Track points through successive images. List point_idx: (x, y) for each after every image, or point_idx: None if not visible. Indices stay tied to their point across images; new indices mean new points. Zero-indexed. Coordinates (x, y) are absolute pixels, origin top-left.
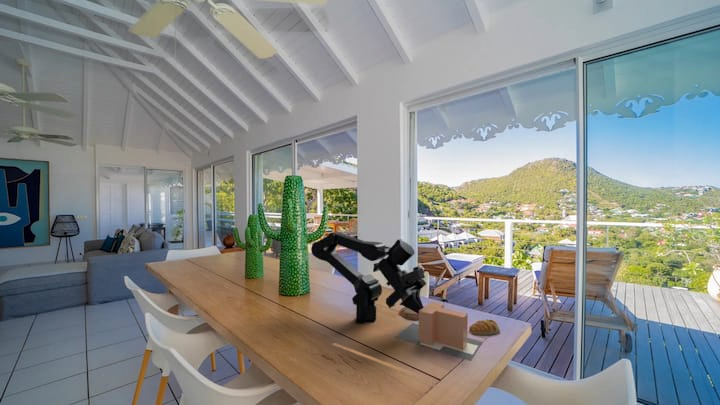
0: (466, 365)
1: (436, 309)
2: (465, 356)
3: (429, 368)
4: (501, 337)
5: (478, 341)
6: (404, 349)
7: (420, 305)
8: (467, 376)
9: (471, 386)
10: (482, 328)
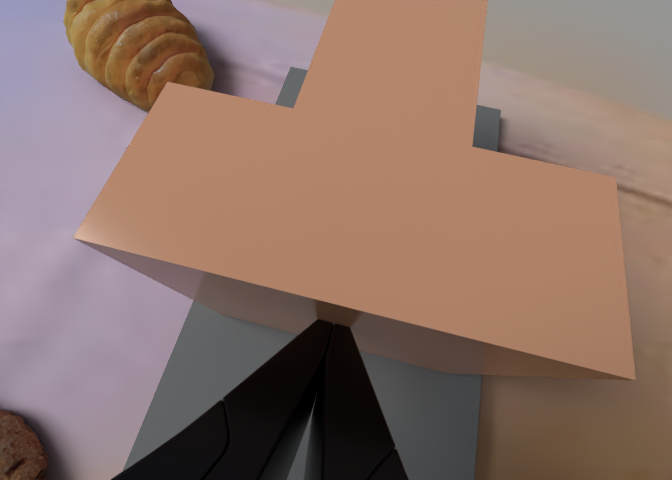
0: (524, 132)
1: (411, 144)
2: (475, 128)
3: (659, 268)
4: (195, 16)
5: (293, 82)
6: (565, 452)
7: (295, 412)
8: (604, 129)
9: (658, 118)
10: (188, 38)
